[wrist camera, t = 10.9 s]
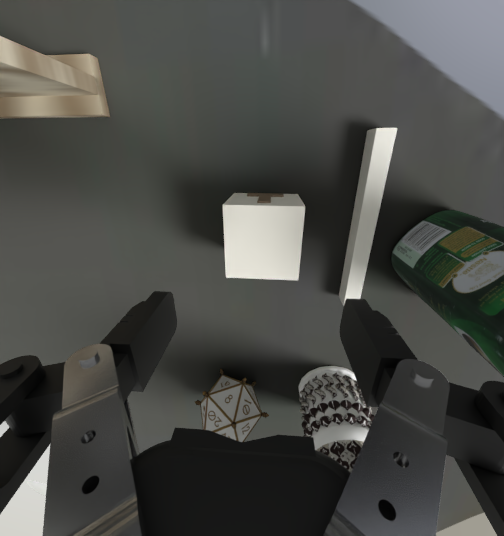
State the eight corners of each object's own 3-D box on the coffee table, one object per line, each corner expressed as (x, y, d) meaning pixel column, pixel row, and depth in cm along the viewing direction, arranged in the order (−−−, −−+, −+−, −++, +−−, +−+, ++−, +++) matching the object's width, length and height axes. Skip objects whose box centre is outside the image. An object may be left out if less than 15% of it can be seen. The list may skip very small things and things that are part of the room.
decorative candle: (293, 409, 35) (330, 854, 13) (297, 361, 32) (357, 882, 9) (358, 412, 35) (517, 891, 12) (370, 364, 31) (635, 940, 8)
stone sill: (352, 296, 27) (358, 306, 25) (338, 295, 27) (343, 306, 25) (386, 130, 20) (397, 127, 18) (367, 130, 20) (376, 128, 18)
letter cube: (292, 253, 25) (298, 280, 20) (235, 251, 26) (225, 277, 20) (297, 192, 23) (305, 204, 17) (234, 191, 23) (222, 202, 18)
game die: (227, 365, 38) (171, 414, 32) (244, 344, 32) (179, 400, 25) (266, 414, 36) (214, 479, 29) (293, 401, 29) (234, 479, 23)
